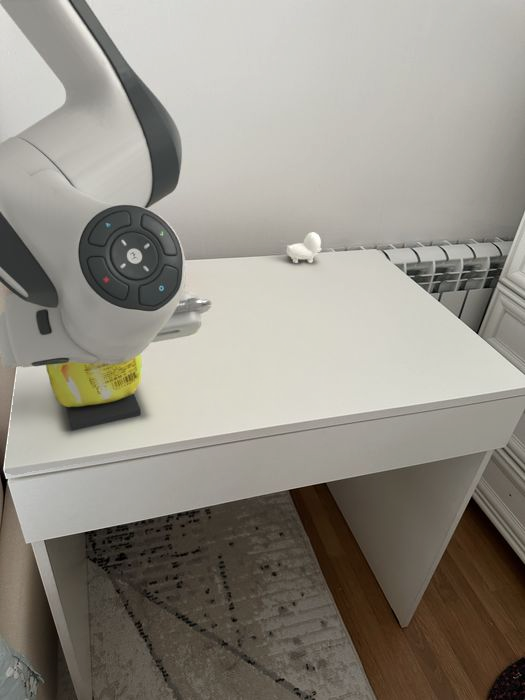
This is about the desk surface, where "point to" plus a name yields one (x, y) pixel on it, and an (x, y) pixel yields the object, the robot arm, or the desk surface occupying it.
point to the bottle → (94, 381)
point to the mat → (103, 412)
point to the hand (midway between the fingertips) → (99, 343)
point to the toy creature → (305, 248)
